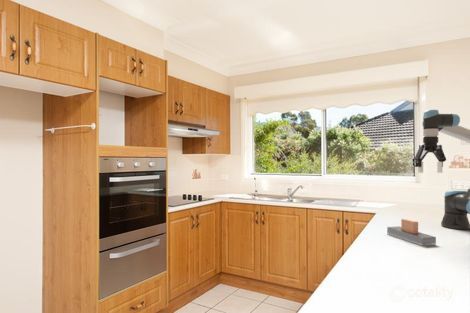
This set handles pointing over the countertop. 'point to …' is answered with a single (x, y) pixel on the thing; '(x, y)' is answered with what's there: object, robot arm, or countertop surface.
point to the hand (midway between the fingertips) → (430, 172)
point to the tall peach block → (409, 226)
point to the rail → (412, 236)
